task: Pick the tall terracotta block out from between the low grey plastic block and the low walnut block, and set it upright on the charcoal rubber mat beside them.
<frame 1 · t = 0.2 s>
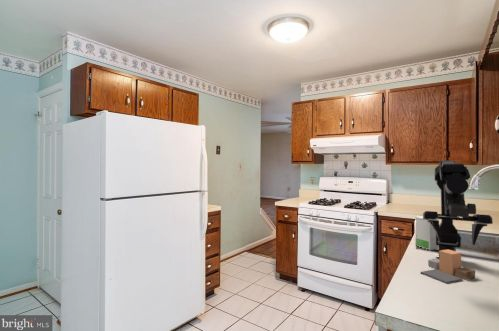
hand: (456, 243, 92), 15 cm above the counter, tool pointing down, fingers open, 9 cm apart
terracotta block: (450, 272, 105), on the counter
walnut block: (465, 277, 100), on the counter
skincare box: (427, 248, 138), on the counter
grey plastic block: (436, 267, 110), on the counter
charcoal mat: (440, 276, 101), on the counter
beverage can: (423, 241, 150), on the counter
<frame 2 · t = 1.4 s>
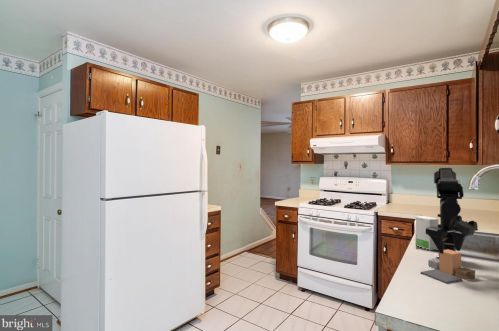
hand: (449, 252, 106), 8 cm above the counter, tool pointing down, fingers open, 9 cm apart
nothing on the counter moved.
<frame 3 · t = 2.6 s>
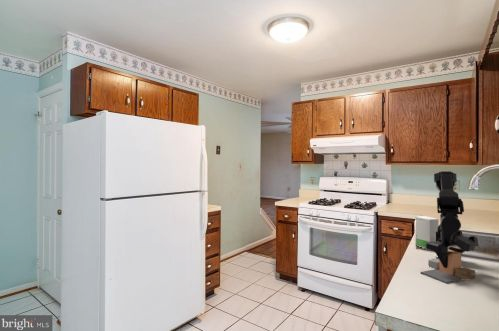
hand: (450, 266, 105), 2 cm above the counter, tool pointing down, fingers closed on terracotta block, 5 cm apart
terracotta block: (450, 272, 105), on the counter, touching gripper
everything else where it was.
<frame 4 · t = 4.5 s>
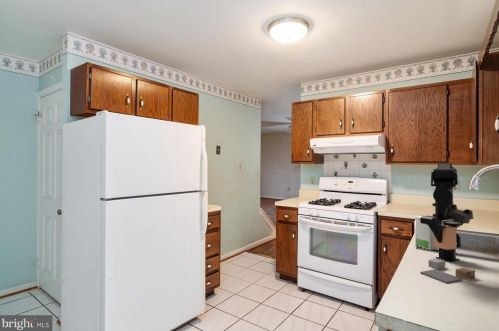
hand: (444, 242, 103), 12 cm above the counter, tool pointing down, fingers closed on terracotta block, 5 cm apart
terracotta block: (445, 247, 103), point 10 cm above the counter, touching gripper
everything else where it was.
when the fingers open (4 cm above the counter, at t = 6.6 s): terracotta block drops 1 cm, resting on charcoal mat.
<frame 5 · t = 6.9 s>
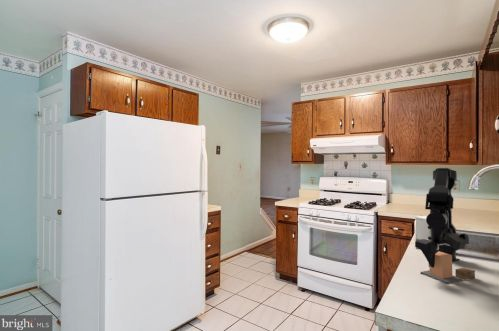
hand: (440, 265, 101), 4 cm above the counter, tool pointing down, fingers open, 8 cm apart
terracotta block: (440, 275, 101), point 1 cm above the counter, touching charcoal mat
everything else where it was.
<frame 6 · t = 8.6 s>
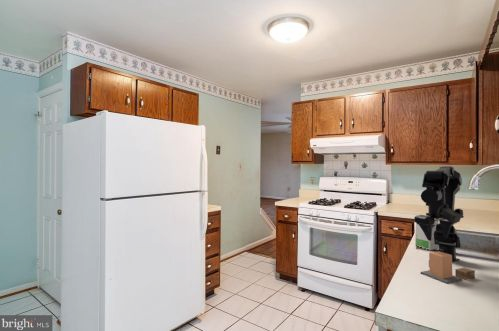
hand: (437, 239, 110), 12 cm above the counter, tool pointing down, fingers open, 9 cm apart
nothing on the counter moved.
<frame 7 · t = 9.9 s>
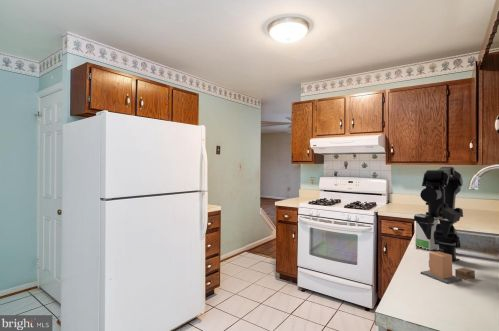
hand: (437, 238, 110), 12 cm above the counter, tool pointing down, fingers open, 9 cm apart
nothing on the counter moved.
at the end: terracotta block inside the target area on the charcoal mat (0.1 cm from its centre), point 0.6 cm above the charcoal mat's base; terracotta block tilted 0°; the gripper is holding nothing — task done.
